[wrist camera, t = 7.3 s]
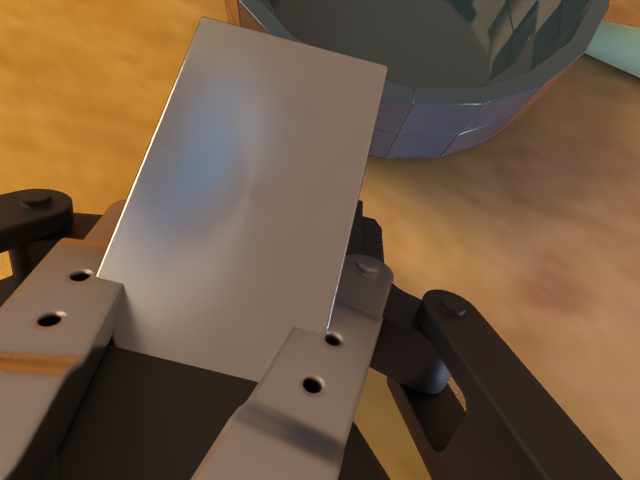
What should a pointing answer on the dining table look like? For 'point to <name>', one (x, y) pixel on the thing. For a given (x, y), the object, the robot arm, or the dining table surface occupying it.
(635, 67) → the mint green cone
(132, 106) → the dining table surface
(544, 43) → the bowl
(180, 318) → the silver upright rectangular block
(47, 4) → the dining table surface
